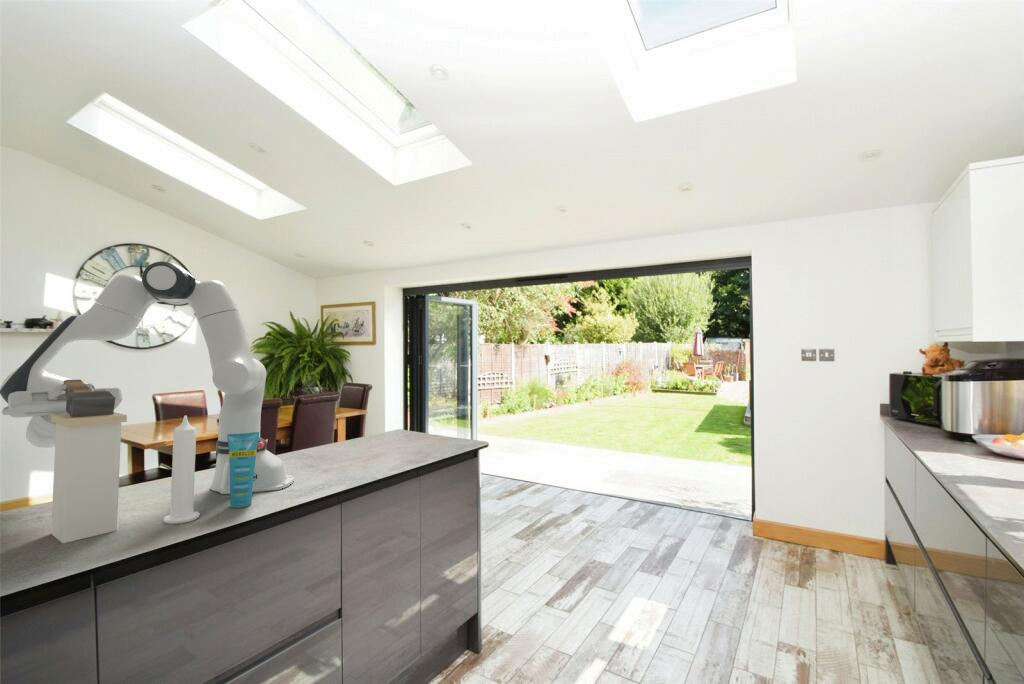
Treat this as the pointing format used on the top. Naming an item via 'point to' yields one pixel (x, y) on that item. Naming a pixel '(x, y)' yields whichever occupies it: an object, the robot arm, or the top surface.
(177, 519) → the candle
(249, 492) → the tube
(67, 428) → the shelf post
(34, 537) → the top surface
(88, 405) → the mallet
